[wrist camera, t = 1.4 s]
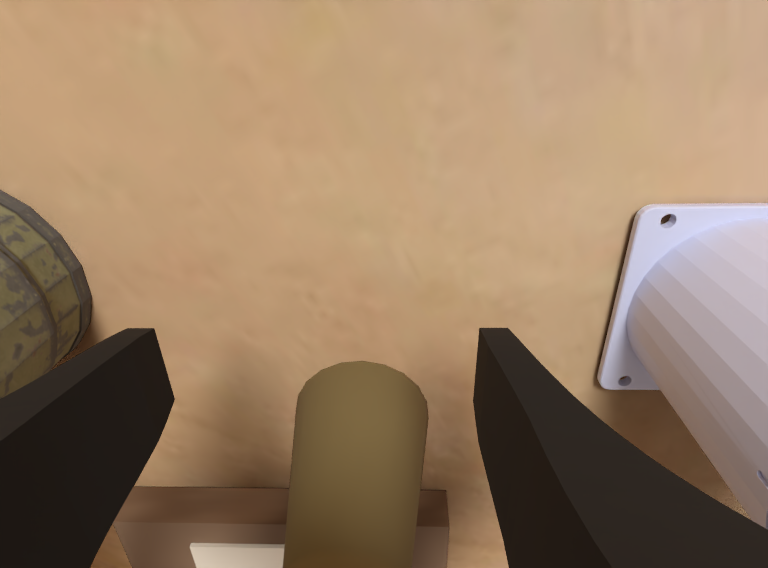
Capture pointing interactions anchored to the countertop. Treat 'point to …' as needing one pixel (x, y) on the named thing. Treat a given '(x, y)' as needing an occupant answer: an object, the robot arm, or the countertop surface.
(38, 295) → the thermos
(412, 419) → the olive pawn piece
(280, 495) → the walnut plinth
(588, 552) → the robot arm
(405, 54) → the countertop surface
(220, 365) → the countertop surface
